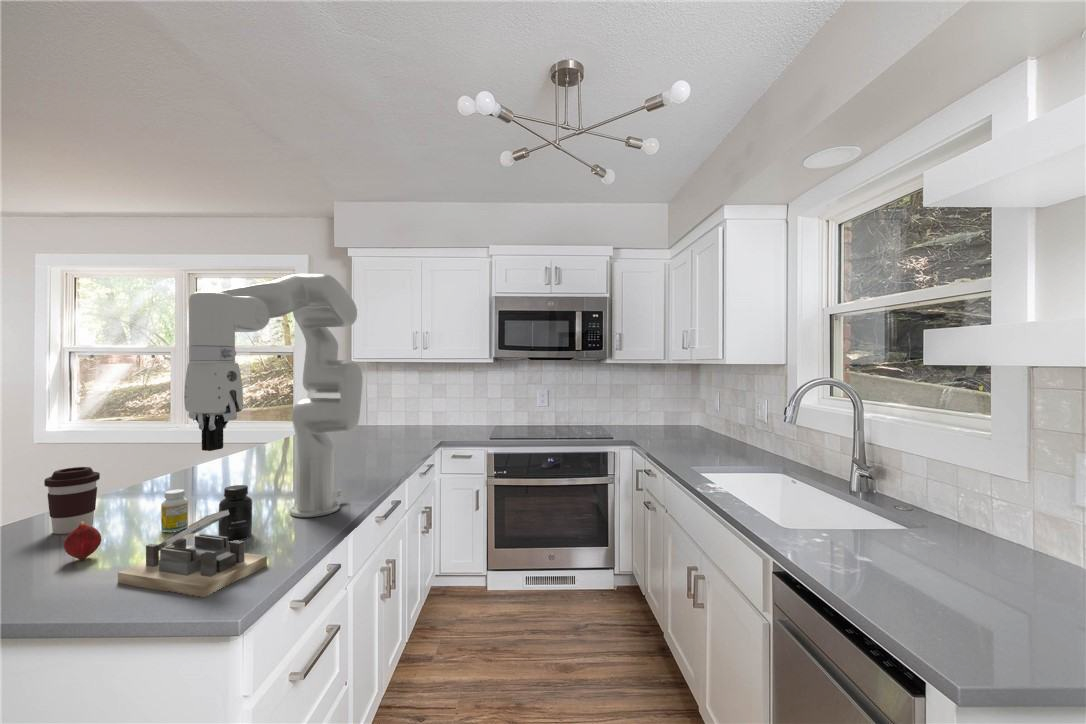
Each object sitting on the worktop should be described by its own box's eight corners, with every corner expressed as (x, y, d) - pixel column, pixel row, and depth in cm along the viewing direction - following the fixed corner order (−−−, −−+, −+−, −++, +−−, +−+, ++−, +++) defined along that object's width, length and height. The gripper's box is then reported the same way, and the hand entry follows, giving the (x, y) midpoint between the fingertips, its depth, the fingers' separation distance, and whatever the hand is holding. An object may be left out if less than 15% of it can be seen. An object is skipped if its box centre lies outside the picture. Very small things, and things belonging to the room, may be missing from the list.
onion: (107, 556, 106) (107, 519, 106) (75, 566, 101) (74, 527, 101) (90, 552, 108) (90, 516, 108) (57, 562, 103) (57, 524, 103)
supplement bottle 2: (236, 543, 113) (236, 491, 113) (211, 541, 115) (211, 490, 115) (259, 533, 120) (258, 484, 120) (235, 531, 122) (235, 482, 121)
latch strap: (175, 545, 102) (172, 538, 102) (229, 514, 98) (227, 508, 98) (155, 552, 98) (153, 546, 98) (211, 521, 94) (208, 514, 94)
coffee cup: (42, 540, 115) (42, 476, 115) (46, 529, 123) (46, 469, 122) (99, 530, 122) (99, 470, 121) (100, 520, 129) (100, 463, 129)
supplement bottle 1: (184, 531, 121) (184, 492, 121) (158, 534, 119) (157, 495, 119) (190, 524, 126) (190, 487, 126) (165, 527, 124) (165, 489, 124)
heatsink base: (188, 554, 107) (188, 526, 107) (266, 565, 102) (266, 535, 102) (117, 582, 94) (117, 550, 94) (203, 597, 88) (203, 563, 88)
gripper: (259, 356, 98) (259, 448, 98) (200, 355, 102) (200, 444, 102) (225, 355, 90) (226, 455, 91) (163, 355, 94) (164, 451, 95)
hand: (212, 449), depth 96 cm, fingers closed
